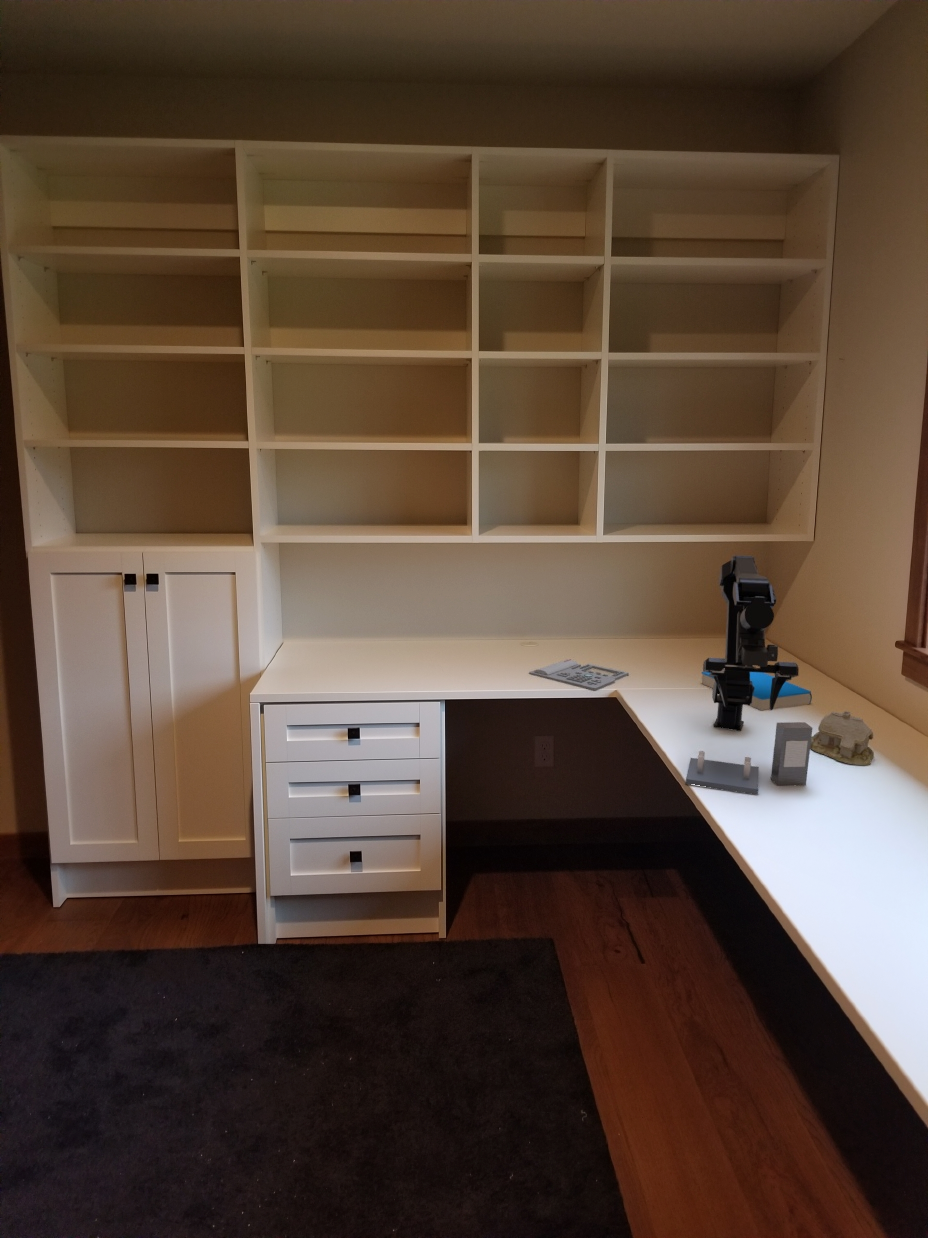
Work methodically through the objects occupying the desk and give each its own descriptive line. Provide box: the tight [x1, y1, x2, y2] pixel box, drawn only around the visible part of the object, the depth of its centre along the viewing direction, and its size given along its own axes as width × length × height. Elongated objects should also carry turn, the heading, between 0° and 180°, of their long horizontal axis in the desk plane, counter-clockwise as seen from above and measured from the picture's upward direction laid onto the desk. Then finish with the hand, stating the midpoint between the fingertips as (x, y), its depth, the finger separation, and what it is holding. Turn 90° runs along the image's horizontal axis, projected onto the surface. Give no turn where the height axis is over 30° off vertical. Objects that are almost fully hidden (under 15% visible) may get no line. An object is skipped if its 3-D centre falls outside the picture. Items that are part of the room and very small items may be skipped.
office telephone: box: [528, 659, 630, 692], centre depth 245 cm, size 23×3×20 cm
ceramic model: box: [810, 710, 875, 766], centre depth 187 cm, size 14×11×10 cm
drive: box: [770, 721, 813, 787], centre depth 171 cm, size 3×6×12 cm, turn 94°
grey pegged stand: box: [685, 750, 760, 795], centre depth 173 cm, size 12×14×5 cm
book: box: [701, 671, 813, 711], centre depth 230 cm, size 17×4×25 cm
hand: (748, 708), depth 176 cm, fingers open, 9 cm apart
